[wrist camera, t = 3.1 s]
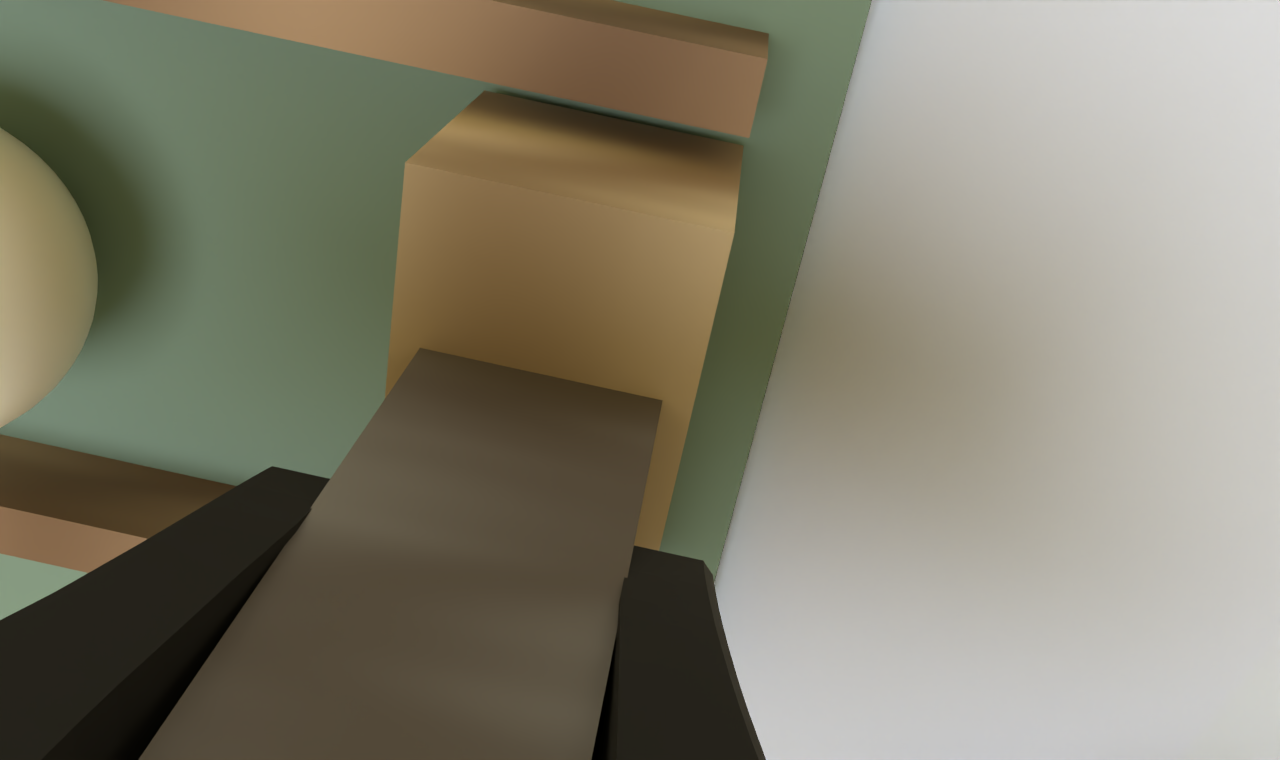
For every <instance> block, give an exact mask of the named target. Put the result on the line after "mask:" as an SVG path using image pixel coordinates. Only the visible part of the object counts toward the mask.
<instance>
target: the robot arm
mask: <svg viewBox="0 0 1280 760" xmlns="http://www.w3.org/2000/svg"><path fill="white" fill-rule="evenodd" d="M329 480H330V479H329V478H324V477H320V476H315V475H311V474H306V473H302V472H297V471H292V470H288V469H283V468H279V467H274V466H271V467H269V468H268V469H266V470H264V471H262V472H260V473H259V474H257V475H255V476H253V477H251V478H250V479H248V480H246V481H245V482H243V483H241V484H239V485H238V486H236V487H234V488H233V489H231V490H229V491H228V492H226V493H224V494H223V495H221V496H219V497H217V498H216V499H214V500H212V501H211V502H209V503H207V504H206V505H204V506H202V507H201V508H199V509H197V510H196V511H194V512H192V513H191V514H189V515H187V516H185V517H184V518H182V519H180V520H179V521H177V522H175V523H174V524H172V525H170V526H169V527H167V528H165V529H164V530H162V531H160V532H158V533H157V534H155V535H153V536H152V537H150V538H148V539H147V540H145V541H143V542H141V543H140V544H138V545H136V546H135V547H133V548H131V549H129V550H128V551H126V552H124V553H122V554H121V555H119V556H117V557H115V558H114V559H112V560H110V561H108V562H107V563H105V564H103V565H101V566H100V567H98V568H96V569H94V570H93V571H91V572H89V573H87V574H86V575H84V576H82V577H80V578H79V579H77V580H75V581H73V582H71V583H70V584H68V585H66V586H64V587H63V588H61V589H59V590H57V591H56V592H54V593H52V594H50V595H48V596H46V597H44V598H42V599H40V600H38V601H36V602H34V603H33V604H31V605H29V606H27V607H25V608H23V609H21V610H19V611H17V612H15V613H13V614H11V615H9V616H7V617H5V618H3V619H2V620H0V760H139V758H140V757H141V755H142V754H143V752H144V751H145V749H146V748H147V746H148V745H149V743H150V742H151V741H152V739H153V738H154V736H155V735H156V733H157V732H158V730H159V729H160V727H161V726H162V724H163V723H164V721H165V720H166V719H167V717H168V716H169V714H170V713H171V711H172V710H173V708H174V707H175V705H176V704H177V702H178V701H179V700H180V698H181V697H182V695H183V694H184V692H185V691H186V689H187V688H188V686H189V685H190V683H191V682H192V681H193V679H194V678H195V676H196V675H197V673H198V672H199V670H200V669H201V667H202V666H203V664H204V663H205V661H206V660H207V659H208V657H209V656H210V654H211V653H212V651H213V650H214V648H215V647H216V645H217V644H218V642H219V641H220V640H221V638H222V637H223V635H224V634H225V632H226V631H227V629H228V628H229V626H230V625H231V623H232V622H233V621H234V619H235V618H236V616H237V615H238V613H239V612H240V610H241V609H242V607H243V606H244V604H245V603H246V601H247V600H248V599H249V597H250V596H251V594H252V593H253V591H254V590H255V588H256V587H257V585H258V584H259V582H260V581H261V580H262V578H263V577H264V575H265V574H266V572H267V571H268V569H269V568H270V566H271V565H272V563H273V562H274V561H275V559H276V558H277V556H278V555H279V553H280V552H281V550H282V549H283V547H284V546H285V545H286V543H287V542H288V541H289V540H290V539H291V538H292V536H293V535H294V534H295V533H296V532H297V530H298V529H299V527H300V526H301V524H302V523H303V521H304V520H305V518H306V517H307V515H308V514H309V512H310V511H311V506H312V505H313V503H314V502H315V501H316V499H317V498H318V496H319V495H320V493H321V492H322V490H323V489H324V487H325V486H326V484H327V483H328V482H329ZM591 760H766V759H765V756H764V753H763V751H762V748H761V745H760V742H759V740H758V737H757V734H756V731H755V729H754V726H753V723H752V720H751V718H750V715H749V712H748V709H747V706H746V703H745V700H744V697H743V694H742V691H741V688H740V685H739V682H738V678H737V675H736V672H735V668H734V665H733V661H732V658H731V654H730V651H729V648H728V644H727V640H726V636H725V633H724V629H723V625H722V621H721V616H720V612H719V608H718V603H717V598H716V592H715V587H714V579H713V574H712V573H711V571H710V570H709V568H708V567H707V565H706V564H705V562H704V561H703V560H699V559H694V558H689V557H685V556H680V555H676V554H671V553H667V552H662V551H658V550H653V549H648V548H644V547H639V546H635V545H634V547H633V552H632V557H631V563H630V568H629V573H628V578H625V577H624V581H623V586H622V591H621V596H620V601H619V610H618V626H617V633H616V638H615V643H614V648H613V653H612V658H611V663H610V668H609V673H608V678H607V683H606V688H605V693H604V699H603V704H602V709H601V714H600V719H599V724H598V729H597V734H596V739H595V744H594V749H593V754H592V759H591Z"/></svg>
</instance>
